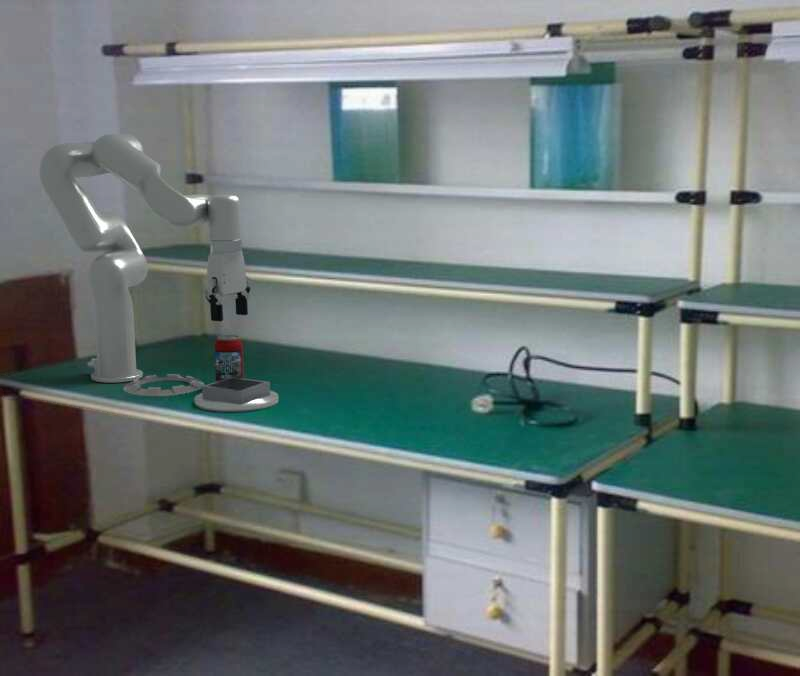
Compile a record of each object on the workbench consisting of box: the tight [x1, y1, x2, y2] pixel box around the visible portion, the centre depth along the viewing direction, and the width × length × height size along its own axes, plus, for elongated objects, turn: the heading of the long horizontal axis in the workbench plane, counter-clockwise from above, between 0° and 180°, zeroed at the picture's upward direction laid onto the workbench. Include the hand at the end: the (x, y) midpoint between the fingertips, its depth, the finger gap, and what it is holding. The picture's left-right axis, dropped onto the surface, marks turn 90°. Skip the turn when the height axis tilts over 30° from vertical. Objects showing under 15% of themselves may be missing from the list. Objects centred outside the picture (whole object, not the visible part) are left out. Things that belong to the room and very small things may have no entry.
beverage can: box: [214, 334, 244, 382], centre depth 276 cm, size 7×7×12 cm
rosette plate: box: [194, 377, 279, 413], centre depth 260 cm, size 19×19×4 cm
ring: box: [122, 373, 206, 397], centre depth 276 cm, size 19×19×2 cm
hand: (229, 317), depth 274 cm, fingers open, 9 cm apart
